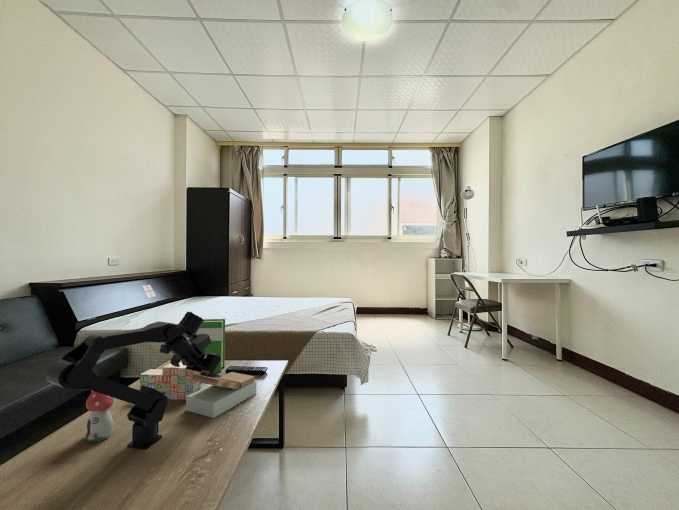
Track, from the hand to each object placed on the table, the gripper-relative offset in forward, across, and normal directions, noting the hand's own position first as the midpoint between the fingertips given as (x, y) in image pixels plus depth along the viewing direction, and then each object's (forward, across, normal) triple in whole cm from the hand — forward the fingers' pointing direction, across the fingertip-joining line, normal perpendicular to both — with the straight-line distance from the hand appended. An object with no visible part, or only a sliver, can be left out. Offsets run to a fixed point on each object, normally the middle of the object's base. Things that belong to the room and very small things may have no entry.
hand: (208, 372), depth 115 cm
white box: (+14, 0, +4) cm, 15 cm away
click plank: (+6, 0, +2) cm, 6 cm away
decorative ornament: (-10, +16, +29) cm, 34 cm away
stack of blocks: (+11, +22, +8) cm, 26 cm away
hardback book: (+30, +34, -11) cm, 47 cm away
